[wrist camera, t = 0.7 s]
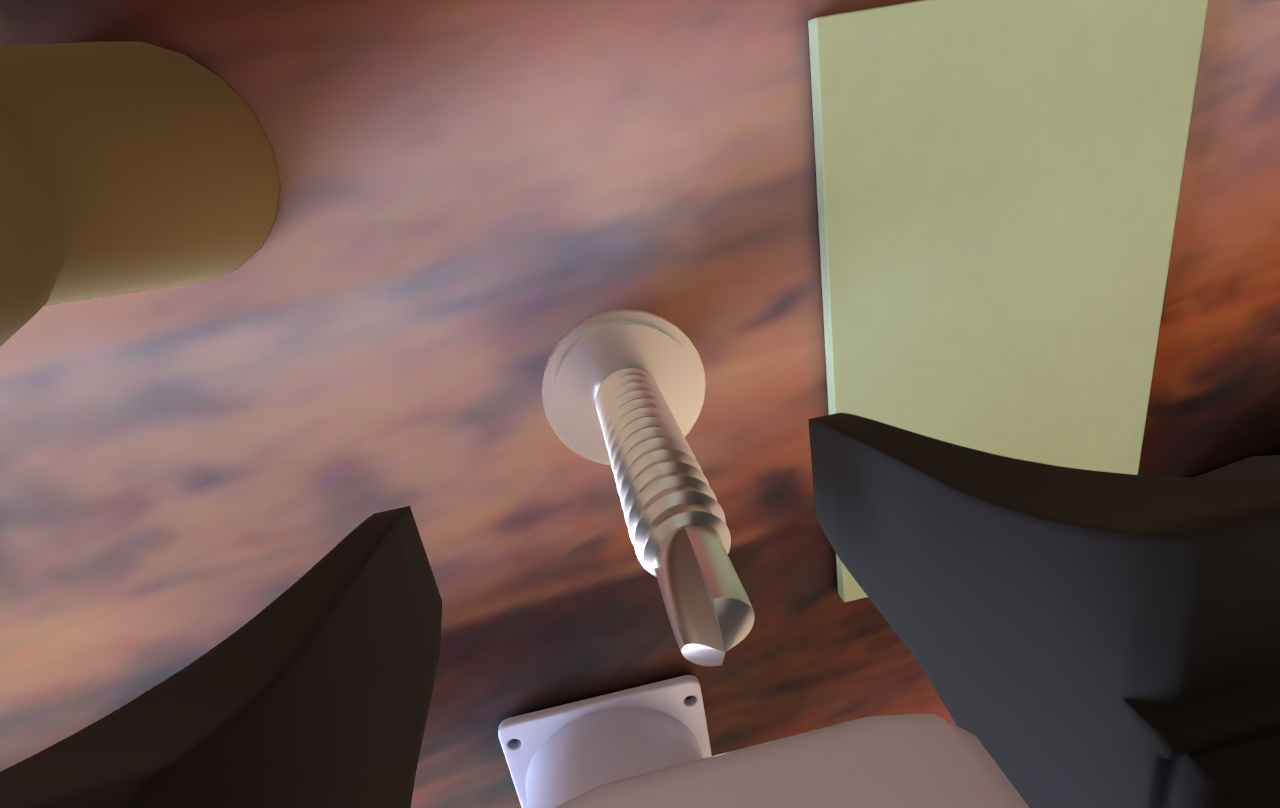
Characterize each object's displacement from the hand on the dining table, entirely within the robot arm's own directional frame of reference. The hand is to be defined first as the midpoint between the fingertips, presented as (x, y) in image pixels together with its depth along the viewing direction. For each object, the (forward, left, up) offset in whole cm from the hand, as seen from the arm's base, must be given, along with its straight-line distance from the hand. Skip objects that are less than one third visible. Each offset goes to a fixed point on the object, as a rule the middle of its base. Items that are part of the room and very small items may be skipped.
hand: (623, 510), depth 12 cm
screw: (-1, -1, -10) cm, 10 cm away
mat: (-2, -14, -10) cm, 17 cm away
